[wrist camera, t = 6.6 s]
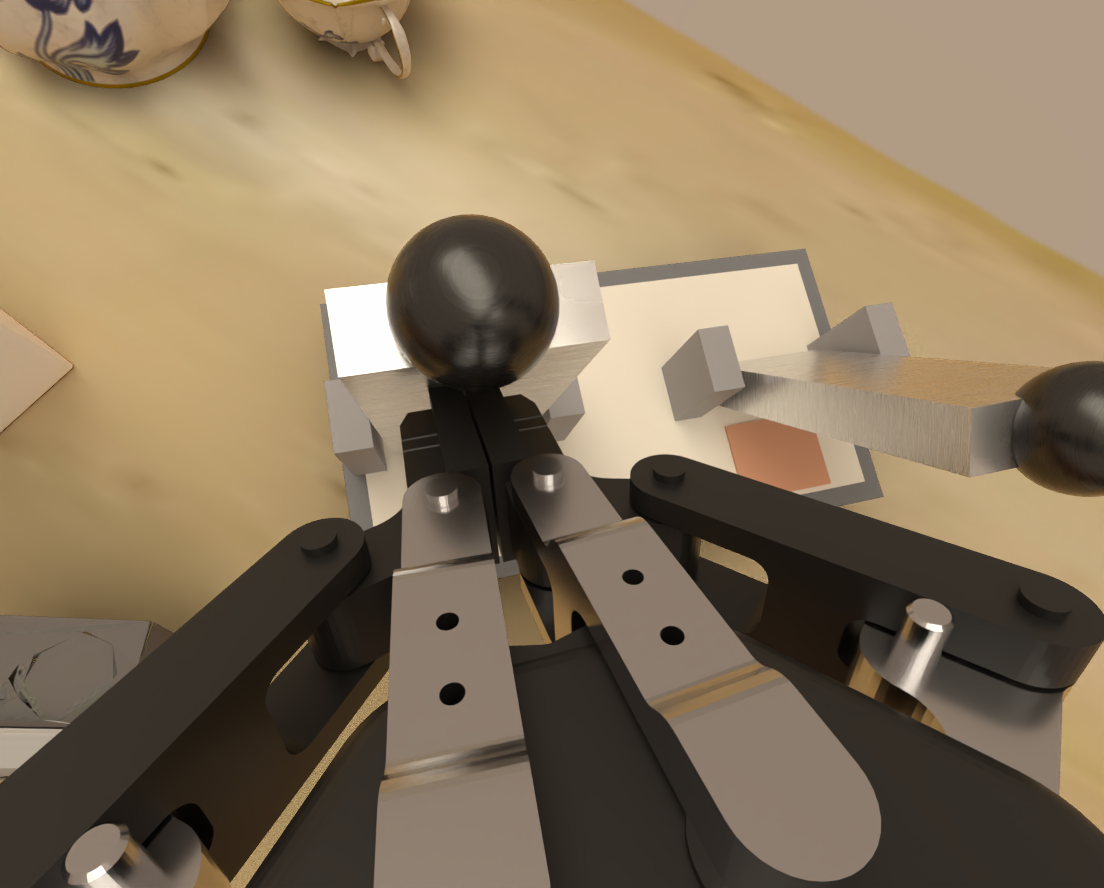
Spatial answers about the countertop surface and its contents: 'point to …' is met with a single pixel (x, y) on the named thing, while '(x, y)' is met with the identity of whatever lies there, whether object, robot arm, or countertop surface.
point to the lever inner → (942, 411)
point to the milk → (24, 369)
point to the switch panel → (670, 385)
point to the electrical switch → (60, 674)
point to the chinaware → (174, 34)
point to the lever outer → (465, 322)
